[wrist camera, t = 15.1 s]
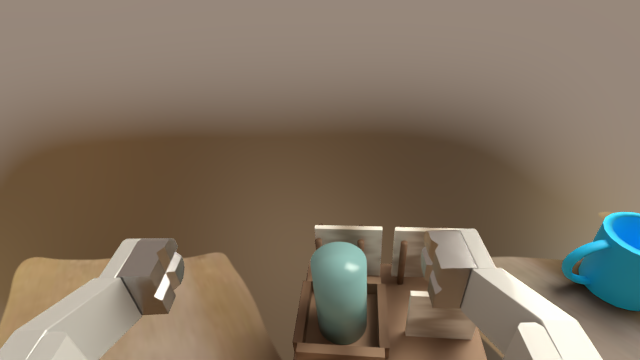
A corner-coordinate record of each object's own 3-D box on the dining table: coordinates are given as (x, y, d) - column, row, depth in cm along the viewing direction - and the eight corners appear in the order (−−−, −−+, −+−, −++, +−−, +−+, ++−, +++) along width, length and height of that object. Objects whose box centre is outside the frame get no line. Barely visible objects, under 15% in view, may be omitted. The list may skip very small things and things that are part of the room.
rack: (293, 366, 38) (284, 316, 33) (309, 265, 49) (304, 216, 44) (489, 380, 36) (511, 328, 31) (458, 271, 47) (471, 220, 42)
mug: (625, 256, 48) (655, 209, 43) (677, 309, 41) (718, 260, 36) (536, 261, 48) (555, 215, 43) (572, 315, 41) (600, 267, 36)
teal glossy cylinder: (315, 342, 39) (306, 282, 33) (321, 300, 44) (314, 240, 38) (366, 346, 38) (366, 285, 33) (367, 302, 43) (367, 242, 37)
